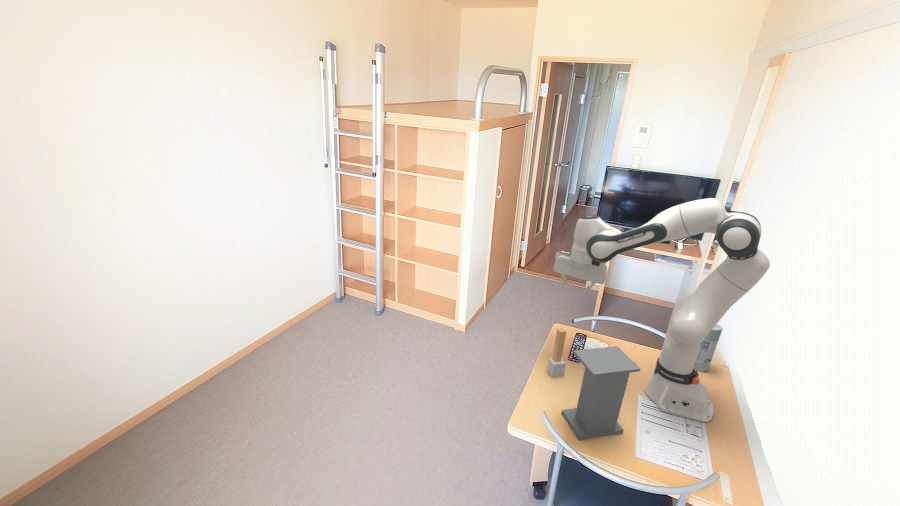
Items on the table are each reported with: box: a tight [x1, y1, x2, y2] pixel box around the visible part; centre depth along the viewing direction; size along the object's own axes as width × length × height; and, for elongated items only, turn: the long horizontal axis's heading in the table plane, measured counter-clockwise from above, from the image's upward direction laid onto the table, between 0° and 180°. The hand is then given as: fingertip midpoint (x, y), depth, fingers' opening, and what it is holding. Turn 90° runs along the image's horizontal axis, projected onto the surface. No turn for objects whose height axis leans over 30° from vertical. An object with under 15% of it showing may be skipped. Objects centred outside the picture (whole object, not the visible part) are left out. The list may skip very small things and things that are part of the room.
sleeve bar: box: [547, 327, 567, 378], centre depth 160 cm, size 20×5×4 cm
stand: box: [561, 345, 641, 441], centre depth 135 cm, size 12×16×26 cm
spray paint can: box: [694, 323, 723, 373], centre depth 168 cm, size 6×6×20 cm
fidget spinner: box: [679, 453, 705, 473], centre depth 127 cm, size 7×6×1 cm
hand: (576, 287), depth 165 cm, fingers open, 8 cm apart
